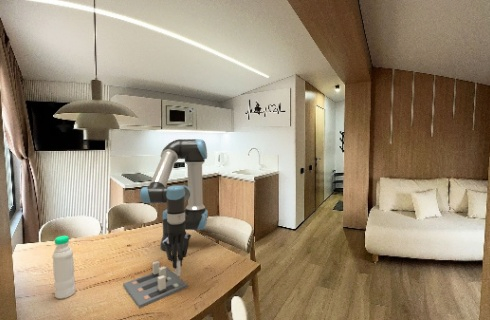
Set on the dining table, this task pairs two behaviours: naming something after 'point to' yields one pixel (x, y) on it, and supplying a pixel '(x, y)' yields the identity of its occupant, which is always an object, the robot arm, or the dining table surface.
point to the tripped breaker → (161, 284)
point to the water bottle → (63, 268)
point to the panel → (153, 288)
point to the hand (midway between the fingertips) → (177, 274)
